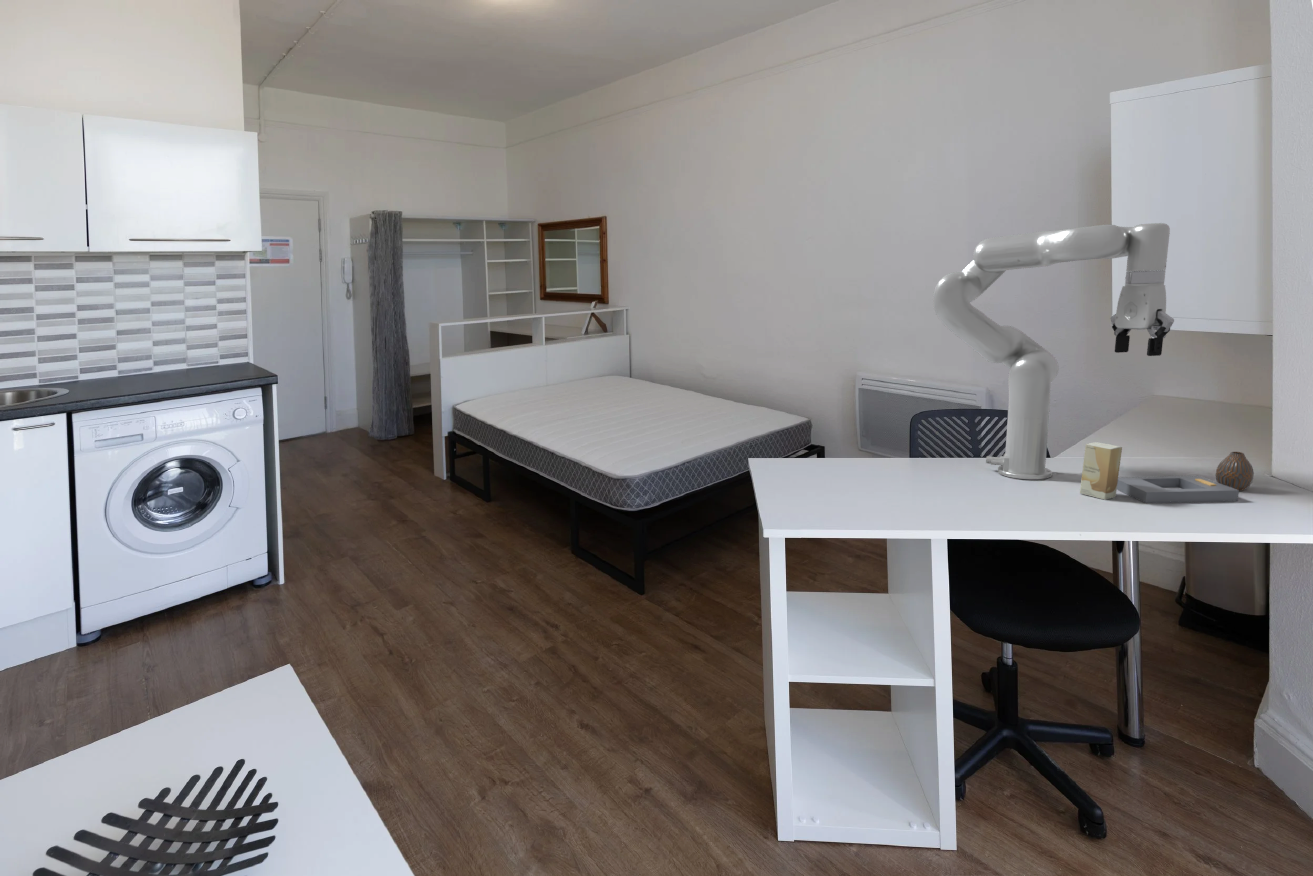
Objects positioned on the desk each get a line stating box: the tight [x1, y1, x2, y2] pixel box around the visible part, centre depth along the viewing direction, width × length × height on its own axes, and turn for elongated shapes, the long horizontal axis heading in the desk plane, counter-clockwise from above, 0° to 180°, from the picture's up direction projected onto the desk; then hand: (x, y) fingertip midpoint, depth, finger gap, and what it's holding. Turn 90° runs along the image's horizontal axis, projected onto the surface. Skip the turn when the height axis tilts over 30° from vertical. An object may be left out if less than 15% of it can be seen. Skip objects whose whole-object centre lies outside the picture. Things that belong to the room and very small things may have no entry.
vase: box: [1215, 451, 1255, 492], centre depth 168 cm, size 7×7×9 cm
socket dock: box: [1116, 475, 1240, 504], centre depth 166 cm, size 20×13×3 cm, turn 88°
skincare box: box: [1079, 441, 1123, 501], centre depth 165 cm, size 6×4×12 cm
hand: (1137, 353), depth 167 cm, fingers open, 9 cm apart
